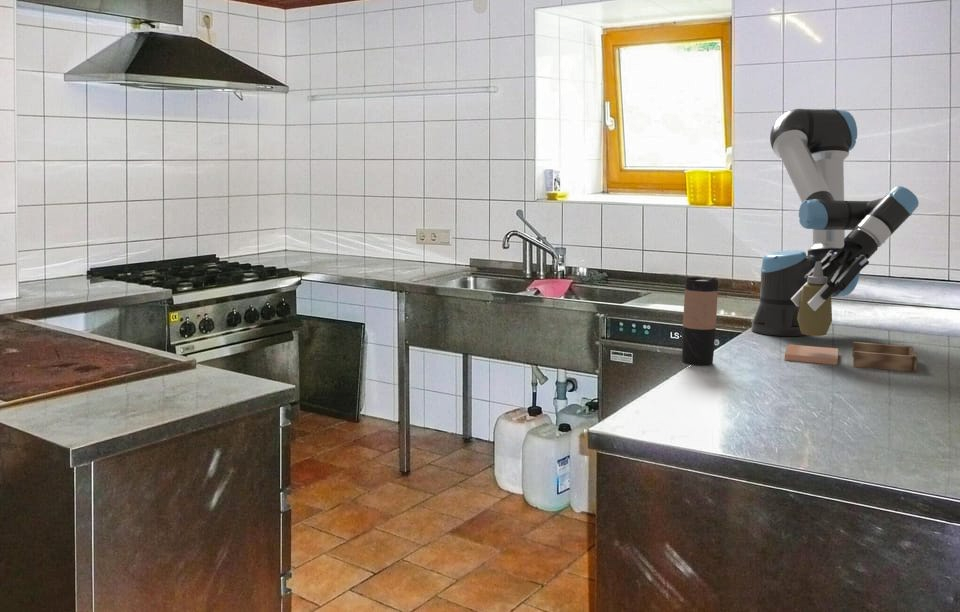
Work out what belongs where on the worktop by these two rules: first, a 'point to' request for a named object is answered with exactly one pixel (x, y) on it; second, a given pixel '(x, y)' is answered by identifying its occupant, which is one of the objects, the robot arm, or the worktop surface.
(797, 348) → the terracotta tile
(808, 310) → the squeeze bottle
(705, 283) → the travel mug
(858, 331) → the worktop surface
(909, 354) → the wooden tray
